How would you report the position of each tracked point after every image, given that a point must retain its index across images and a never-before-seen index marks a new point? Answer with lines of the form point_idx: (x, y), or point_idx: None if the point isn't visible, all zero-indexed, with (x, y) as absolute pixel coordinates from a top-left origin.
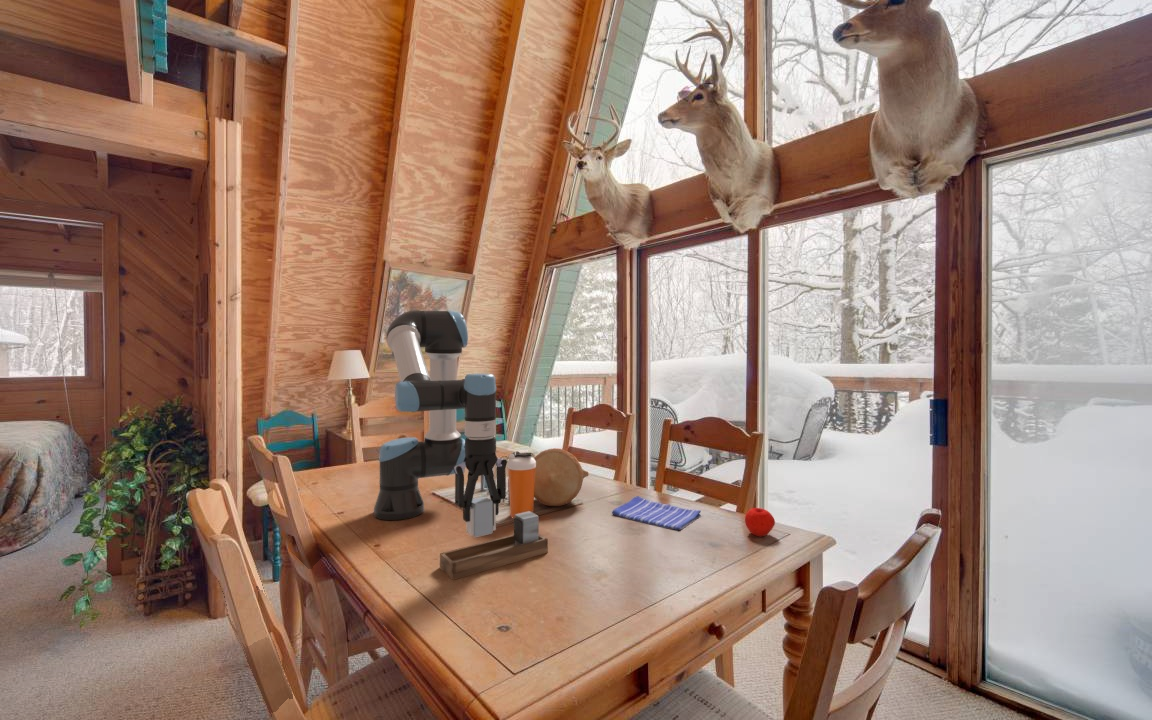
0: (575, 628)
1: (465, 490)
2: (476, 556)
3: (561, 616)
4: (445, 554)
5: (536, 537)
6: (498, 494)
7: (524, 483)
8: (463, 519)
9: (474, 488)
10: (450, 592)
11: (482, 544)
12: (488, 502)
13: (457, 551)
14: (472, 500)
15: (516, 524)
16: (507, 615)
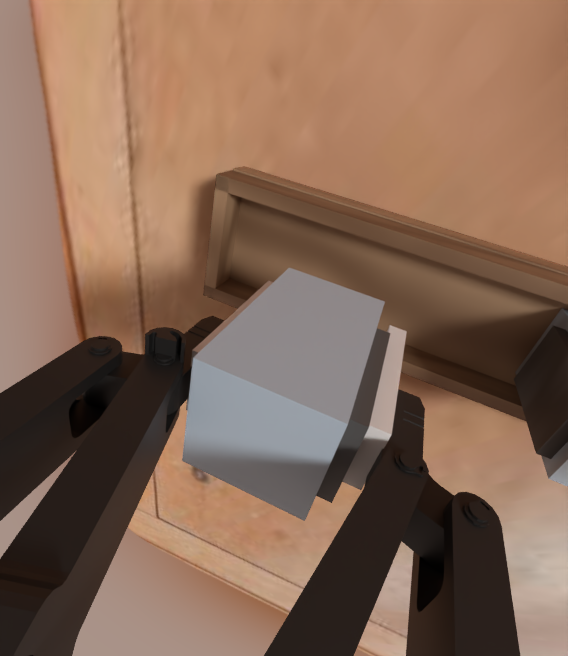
0: (275, 557)
1: (87, 440)
2: (352, 254)
3: (287, 535)
4: (233, 194)
5: None
6: (428, 536)
7: None
8: (206, 319)
9: (114, 544)
10: (191, 321)
11: (401, 249)
12: (277, 500)
13: (284, 209)
14: (210, 402)
15: (557, 400)
16: None
